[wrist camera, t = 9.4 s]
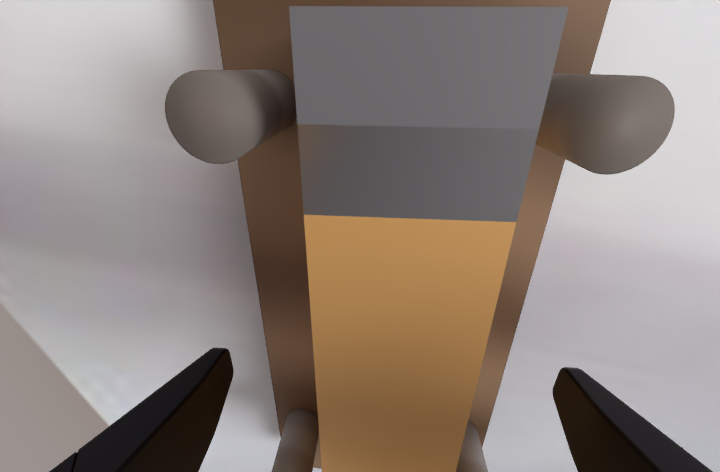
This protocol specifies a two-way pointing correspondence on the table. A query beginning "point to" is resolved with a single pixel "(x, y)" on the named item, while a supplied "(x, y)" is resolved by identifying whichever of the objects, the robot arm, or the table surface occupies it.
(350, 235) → the bar
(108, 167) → the table surface
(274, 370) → the rack
